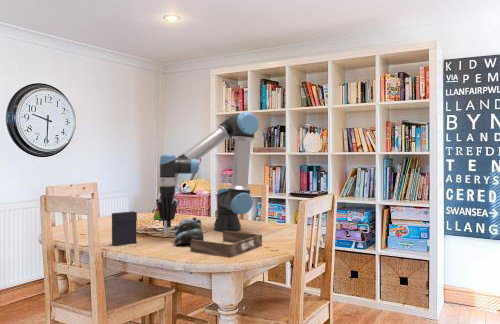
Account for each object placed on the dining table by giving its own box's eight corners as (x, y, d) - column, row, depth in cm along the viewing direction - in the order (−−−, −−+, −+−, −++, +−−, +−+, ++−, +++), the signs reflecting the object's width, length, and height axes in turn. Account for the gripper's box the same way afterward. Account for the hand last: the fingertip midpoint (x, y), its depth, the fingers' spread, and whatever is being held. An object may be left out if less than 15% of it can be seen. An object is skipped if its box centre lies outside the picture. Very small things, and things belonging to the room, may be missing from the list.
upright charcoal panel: (133, 241, 213) (133, 211, 213) (137, 243, 210) (136, 212, 209) (111, 244, 206) (111, 212, 206) (114, 246, 203) (114, 214, 203)
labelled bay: (224, 240, 216) (224, 230, 216) (262, 245, 205) (262, 234, 205) (190, 251, 194) (190, 239, 194) (231, 257, 183) (231, 245, 183)
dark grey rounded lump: (169, 246, 203) (166, 217, 209) (180, 251, 214) (178, 224, 220) (198, 238, 200) (195, 209, 206) (209, 243, 210) (205, 216, 216)
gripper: (152, 185, 217) (151, 233, 218) (172, 186, 211) (172, 236, 211) (162, 184, 224) (162, 230, 224) (182, 186, 217) (182, 233, 218)
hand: (166, 233), depth 218 cm, fingers closed
